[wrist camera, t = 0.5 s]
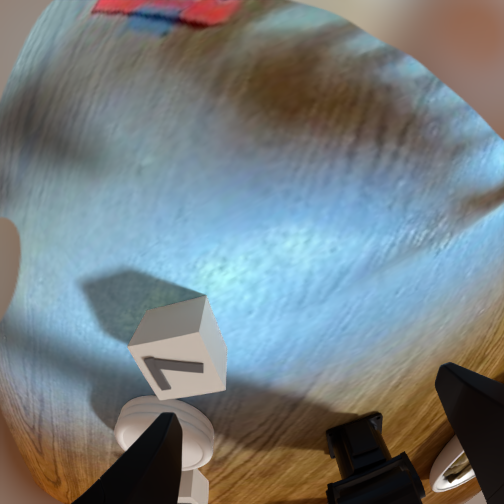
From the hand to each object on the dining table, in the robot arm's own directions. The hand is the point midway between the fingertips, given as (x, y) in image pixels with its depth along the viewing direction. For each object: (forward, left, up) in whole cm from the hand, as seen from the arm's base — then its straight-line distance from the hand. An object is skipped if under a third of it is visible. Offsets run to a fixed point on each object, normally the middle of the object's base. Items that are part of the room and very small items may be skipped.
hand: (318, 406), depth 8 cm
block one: (-26, +18, -14) cm, 34 cm away
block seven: (-4, +8, -14) cm, 16 cm away
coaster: (-15, +15, -14) cm, 25 cm away
